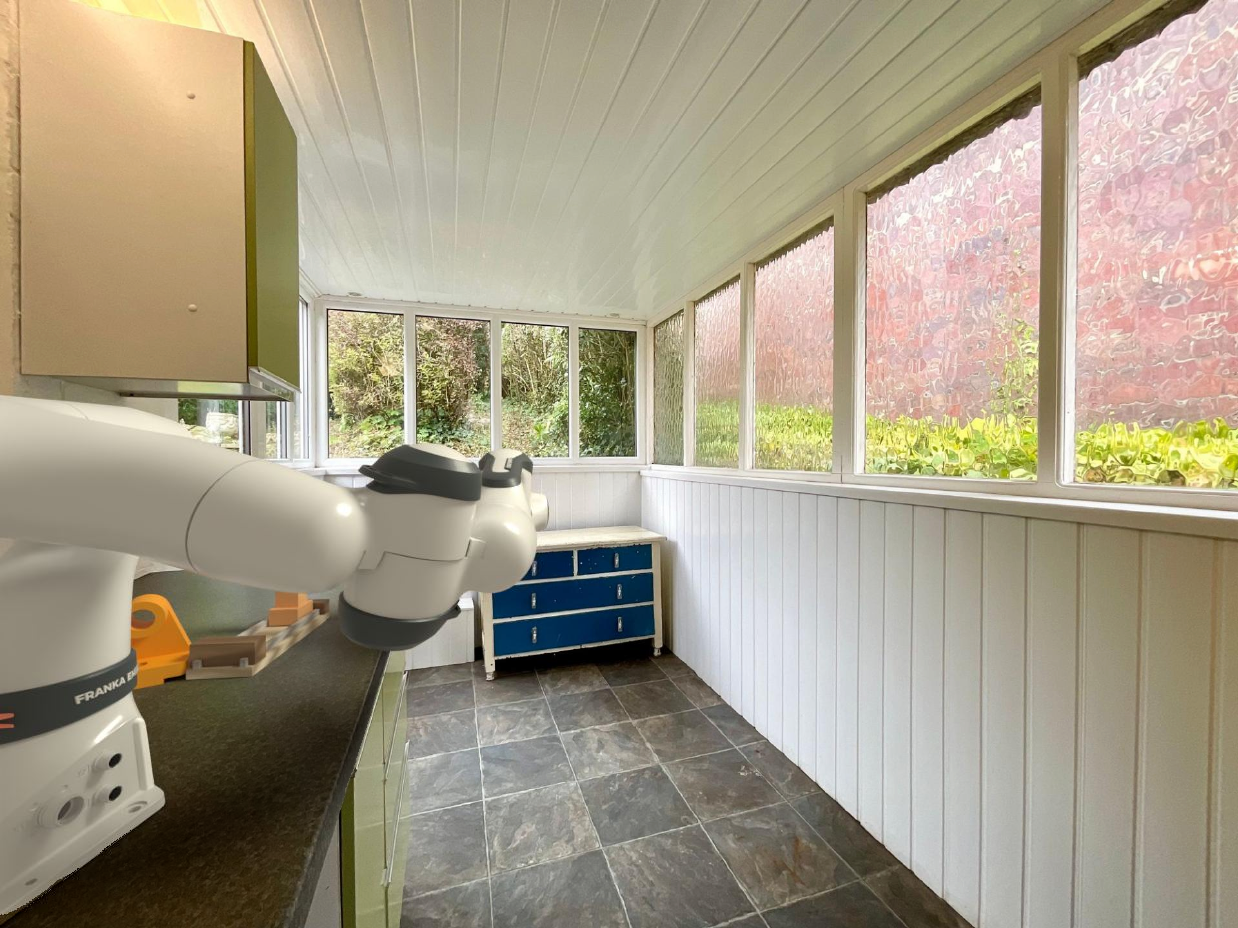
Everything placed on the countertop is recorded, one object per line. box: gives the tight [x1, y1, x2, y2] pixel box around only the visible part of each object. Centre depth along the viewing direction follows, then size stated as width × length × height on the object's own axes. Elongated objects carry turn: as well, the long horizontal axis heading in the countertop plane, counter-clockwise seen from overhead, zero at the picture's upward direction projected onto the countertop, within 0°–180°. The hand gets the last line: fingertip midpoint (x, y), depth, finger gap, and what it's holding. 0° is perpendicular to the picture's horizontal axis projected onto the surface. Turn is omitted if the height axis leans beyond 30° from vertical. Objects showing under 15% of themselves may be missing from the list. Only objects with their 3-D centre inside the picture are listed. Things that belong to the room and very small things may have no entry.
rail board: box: [185, 598, 331, 681], centre depth 86 cm, size 27×9×5 cm, turn 9°
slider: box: [268, 591, 313, 626], centre depth 94 cm, size 6×5×13 cm
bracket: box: [131, 593, 192, 691], centre depth 72 cm, size 11×7×12 cm, turn 126°
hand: (396, 511), depth 96 cm, fingers open, 8 cm apart
